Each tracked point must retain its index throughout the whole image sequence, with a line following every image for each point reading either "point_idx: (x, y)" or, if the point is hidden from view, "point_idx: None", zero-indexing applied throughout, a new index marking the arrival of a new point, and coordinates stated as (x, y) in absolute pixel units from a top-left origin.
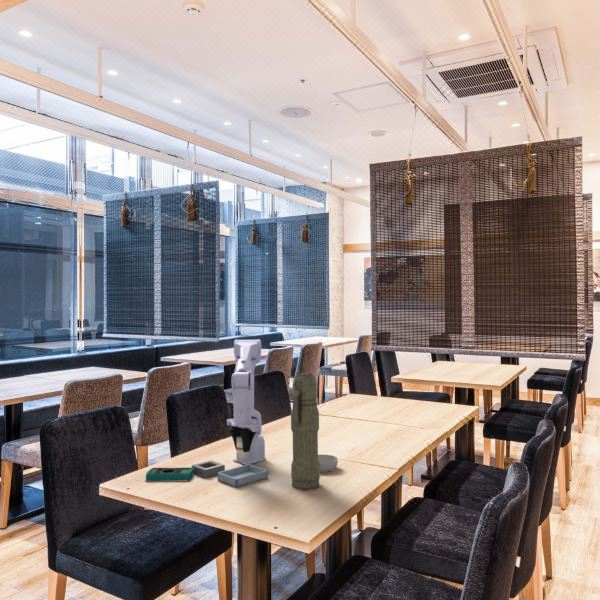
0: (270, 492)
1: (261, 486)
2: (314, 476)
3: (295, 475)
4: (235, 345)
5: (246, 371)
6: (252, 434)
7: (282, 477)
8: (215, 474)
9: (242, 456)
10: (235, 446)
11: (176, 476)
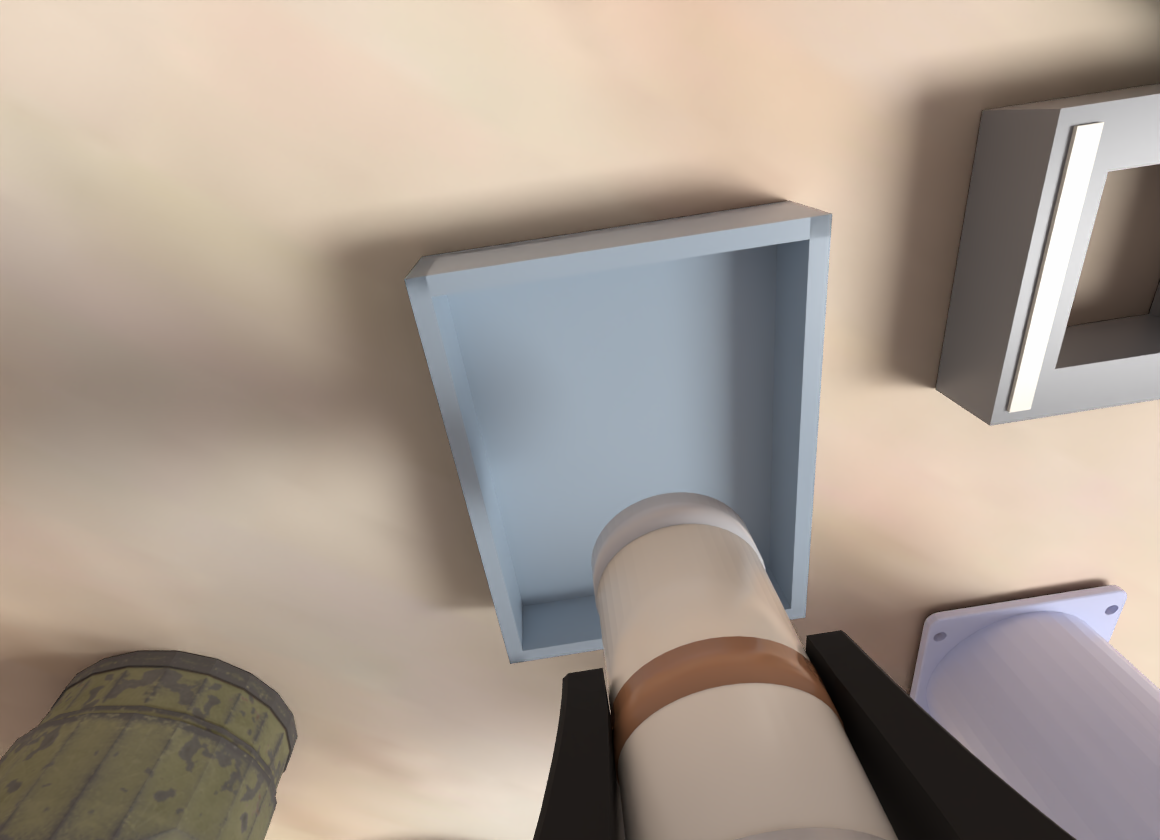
0: (110, 465)
1: (326, 476)
2: None
3: (43, 761)
4: None
5: None
6: None
7: (459, 685)
8: (959, 272)
9: (611, 594)
10: (863, 676)
11: None
